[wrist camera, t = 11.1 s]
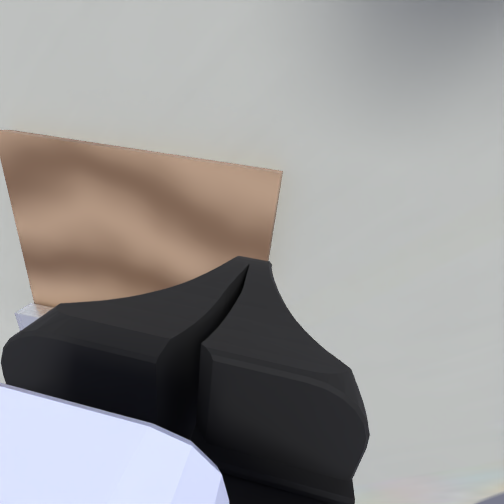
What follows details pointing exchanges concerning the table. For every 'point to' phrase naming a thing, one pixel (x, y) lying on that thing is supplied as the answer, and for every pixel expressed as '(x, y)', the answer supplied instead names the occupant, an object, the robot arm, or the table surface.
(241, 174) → the base plate
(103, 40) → the table surface
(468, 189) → the table surface
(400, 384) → the table surface
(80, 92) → the table surface
